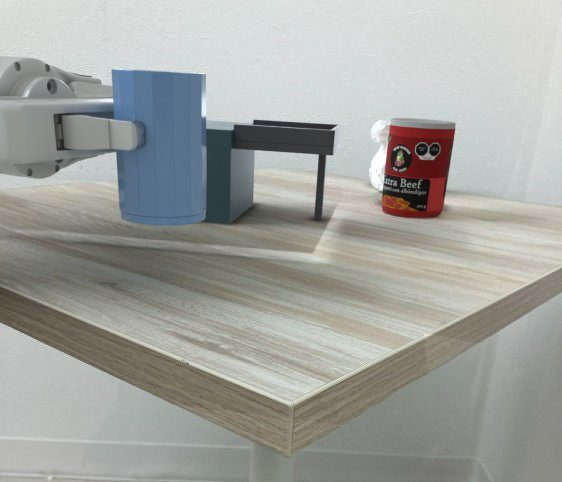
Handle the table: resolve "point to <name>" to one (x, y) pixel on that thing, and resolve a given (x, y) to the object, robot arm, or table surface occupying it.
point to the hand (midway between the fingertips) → (171, 132)
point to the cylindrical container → (162, 146)
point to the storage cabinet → (241, 152)
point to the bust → (379, 153)
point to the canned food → (417, 167)
